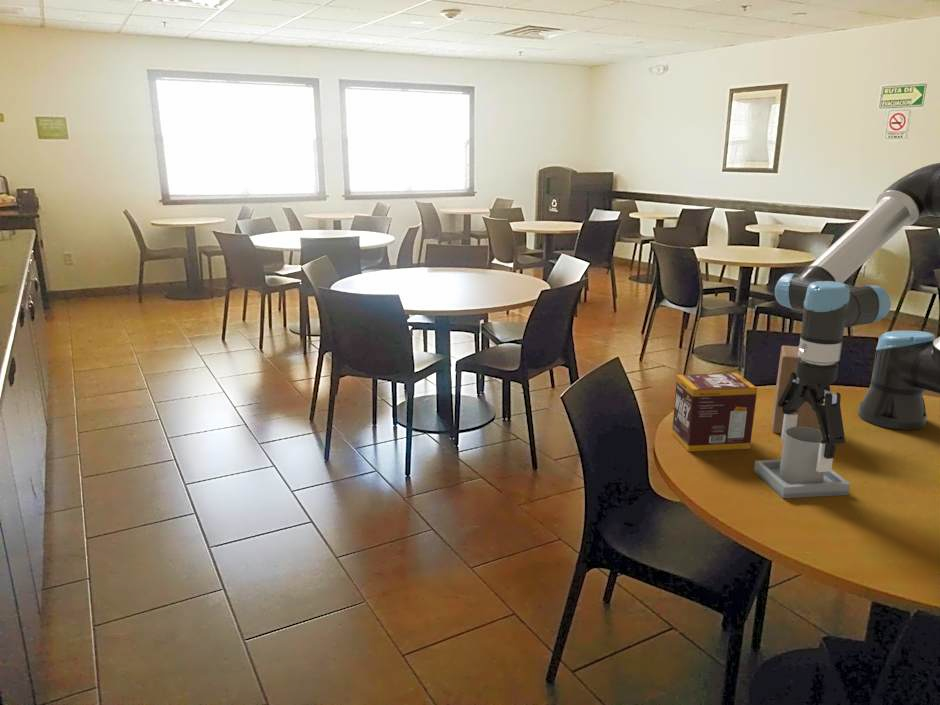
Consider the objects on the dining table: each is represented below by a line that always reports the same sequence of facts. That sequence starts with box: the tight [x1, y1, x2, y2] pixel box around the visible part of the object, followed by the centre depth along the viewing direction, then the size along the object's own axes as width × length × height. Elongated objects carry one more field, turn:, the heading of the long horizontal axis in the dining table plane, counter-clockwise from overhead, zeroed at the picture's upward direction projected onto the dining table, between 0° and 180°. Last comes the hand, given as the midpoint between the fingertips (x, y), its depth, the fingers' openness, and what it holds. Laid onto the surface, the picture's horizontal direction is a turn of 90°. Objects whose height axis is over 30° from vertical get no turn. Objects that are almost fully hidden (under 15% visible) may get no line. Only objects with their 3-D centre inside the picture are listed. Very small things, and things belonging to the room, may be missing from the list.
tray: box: [753, 458, 851, 499], centre depth 145 cm, size 14×12×2 cm
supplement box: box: [671, 372, 758, 452], centre depth 163 cm, size 10×15×16 cm
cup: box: [779, 426, 829, 484], centre depth 144 cm, size 8×8×10 cm
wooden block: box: [771, 345, 820, 435], centre depth 169 cm, size 10×10×20 cm
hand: (804, 455), depth 144 cm, fingers open, 13 cm apart
